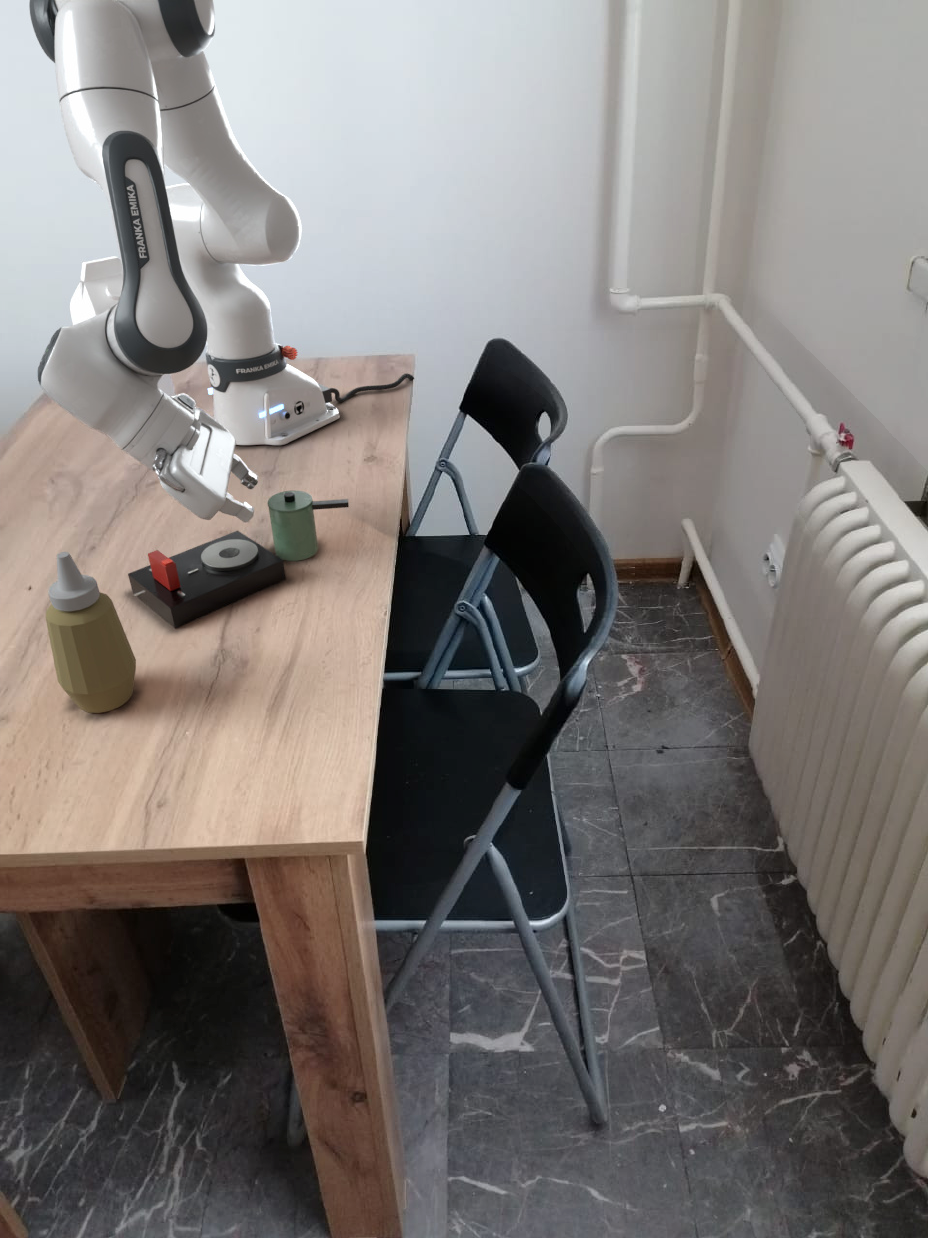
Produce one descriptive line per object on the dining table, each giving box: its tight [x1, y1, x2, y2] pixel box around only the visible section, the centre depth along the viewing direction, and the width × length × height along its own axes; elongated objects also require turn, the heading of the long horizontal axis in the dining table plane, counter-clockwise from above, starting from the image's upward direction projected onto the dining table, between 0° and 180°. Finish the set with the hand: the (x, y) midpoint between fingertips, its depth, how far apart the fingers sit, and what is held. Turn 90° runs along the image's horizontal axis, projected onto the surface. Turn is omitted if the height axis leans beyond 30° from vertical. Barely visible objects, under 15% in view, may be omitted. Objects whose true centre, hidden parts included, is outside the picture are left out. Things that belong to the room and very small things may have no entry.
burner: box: [201, 539, 258, 571], centre depth 121 cm, size 7×7×1 cm
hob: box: [127, 530, 287, 629], centre depth 120 cm, size 18×11×3 cm, turn 133°
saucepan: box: [267, 490, 349, 562], centre depth 126 cm, size 9×8×8 cm
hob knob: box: [147, 549, 181, 591], centre depth 115 cm, size 4×1×4 cm, turn 43°
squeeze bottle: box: [45, 551, 137, 714], centre depth 98 cm, size 8×8×18 cm
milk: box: [69, 255, 177, 397], centre depth 166 cm, size 12×12×26 cm
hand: (253, 499), depth 124 cm, fingers open, 8 cm apart
